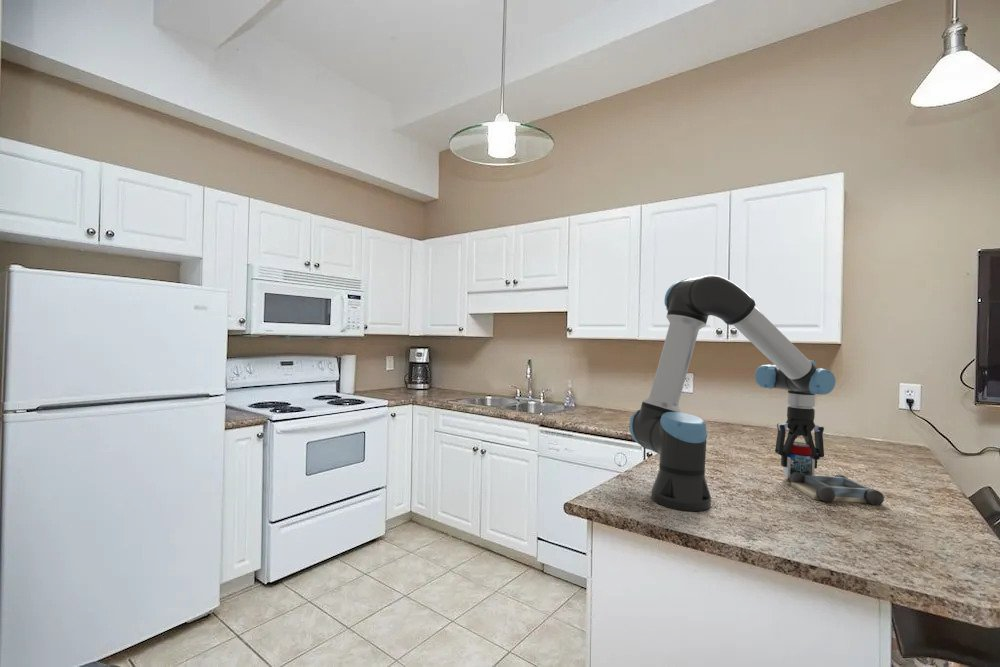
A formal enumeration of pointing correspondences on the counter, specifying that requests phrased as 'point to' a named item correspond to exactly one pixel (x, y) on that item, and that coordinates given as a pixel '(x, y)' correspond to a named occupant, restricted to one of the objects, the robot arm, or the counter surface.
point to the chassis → (834, 489)
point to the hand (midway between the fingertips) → (798, 477)
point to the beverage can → (801, 458)
